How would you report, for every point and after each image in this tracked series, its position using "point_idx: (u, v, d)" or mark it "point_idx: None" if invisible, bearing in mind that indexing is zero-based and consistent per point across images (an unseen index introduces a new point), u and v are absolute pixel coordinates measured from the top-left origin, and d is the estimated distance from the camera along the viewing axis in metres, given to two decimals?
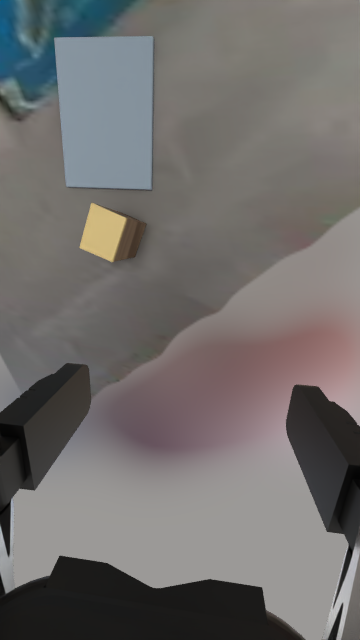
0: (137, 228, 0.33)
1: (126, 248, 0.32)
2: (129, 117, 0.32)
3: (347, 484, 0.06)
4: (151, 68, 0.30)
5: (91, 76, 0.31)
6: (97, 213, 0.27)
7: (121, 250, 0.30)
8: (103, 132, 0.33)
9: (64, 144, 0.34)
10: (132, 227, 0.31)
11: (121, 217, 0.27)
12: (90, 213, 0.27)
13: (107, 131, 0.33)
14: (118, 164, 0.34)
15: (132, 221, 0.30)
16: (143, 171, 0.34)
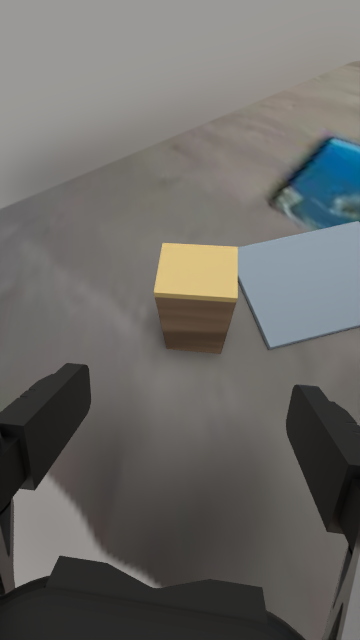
0: (214, 336, 0.20)
1: (181, 322, 0.18)
2: (337, 301, 0.25)
3: (347, 484, 0.06)
4: None
5: (349, 256, 0.27)
6: (225, 256, 0.16)
7: (176, 310, 0.17)
8: (304, 276, 0.26)
9: (270, 242, 0.28)
10: (217, 322, 0.18)
11: (235, 290, 0.15)
12: (221, 248, 0.17)
13: (307, 280, 0.26)
14: (279, 299, 0.25)
15: (228, 318, 0.17)
16: (287, 331, 0.23)
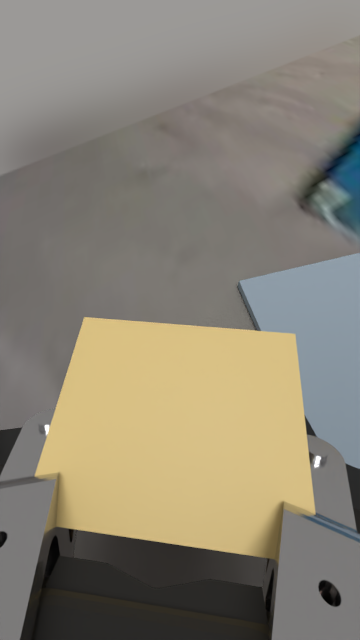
0: None
1: None
2: None
3: None
4: None
5: None
6: (262, 369, 0.05)
7: None
8: None
9: (308, 267, 0.18)
10: None
11: None
12: (247, 337, 0.06)
13: None
14: (335, 376, 0.14)
15: None
16: (357, 445, 0.12)
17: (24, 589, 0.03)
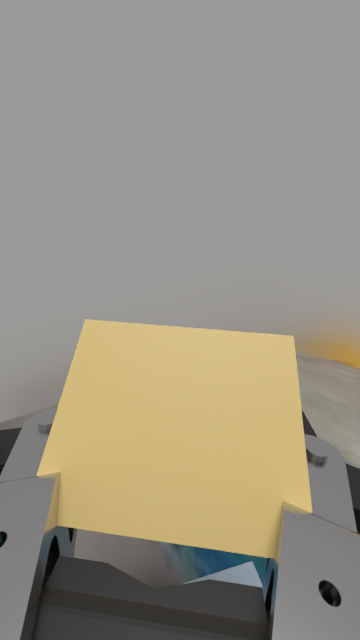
0: None
1: None
2: None
3: None
4: None
5: None
6: (261, 371, 0.05)
7: None
8: None
9: None
10: None
11: None
12: (246, 339, 0.06)
13: None
14: None
15: None
16: None
17: (24, 589, 0.03)
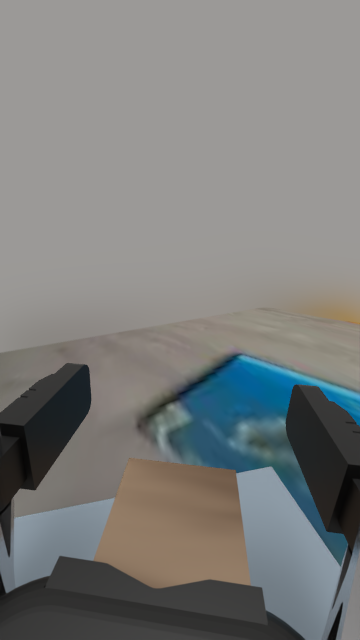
0: None
1: None
2: None
3: (347, 484, 0.06)
4: None
5: (255, 562, 0.12)
6: None
7: None
8: None
9: (95, 506, 0.14)
10: None
11: None
12: None
13: None
14: None
15: None
16: None
17: None
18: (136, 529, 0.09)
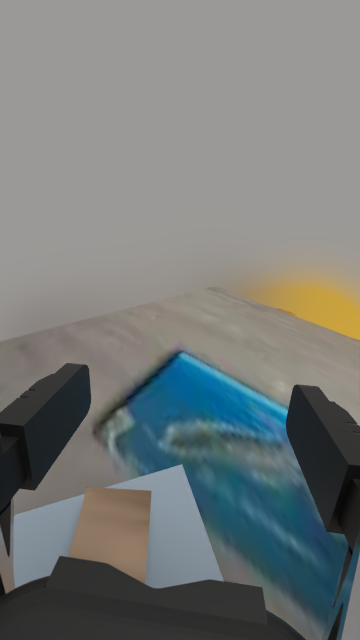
0: None
1: None
2: None
3: (347, 484, 0.06)
4: None
5: (159, 528, 0.21)
6: None
7: None
8: None
9: (65, 502, 0.22)
10: None
11: None
12: None
13: None
14: None
15: None
16: None
17: None
18: (91, 536, 0.17)
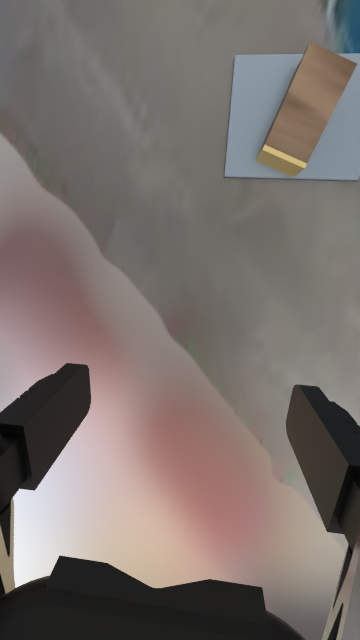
0: None
1: None
2: None
3: (347, 484, 0.06)
4: (332, 178, 0.31)
5: (340, 103, 0.28)
6: (295, 168, 0.28)
7: None
8: None
9: (281, 57, 0.28)
10: None
11: (293, 175, 0.31)
12: (295, 165, 0.27)
13: None
14: (252, 135, 0.30)
15: None
16: (242, 166, 0.31)
17: None
18: (304, 83, 0.25)
